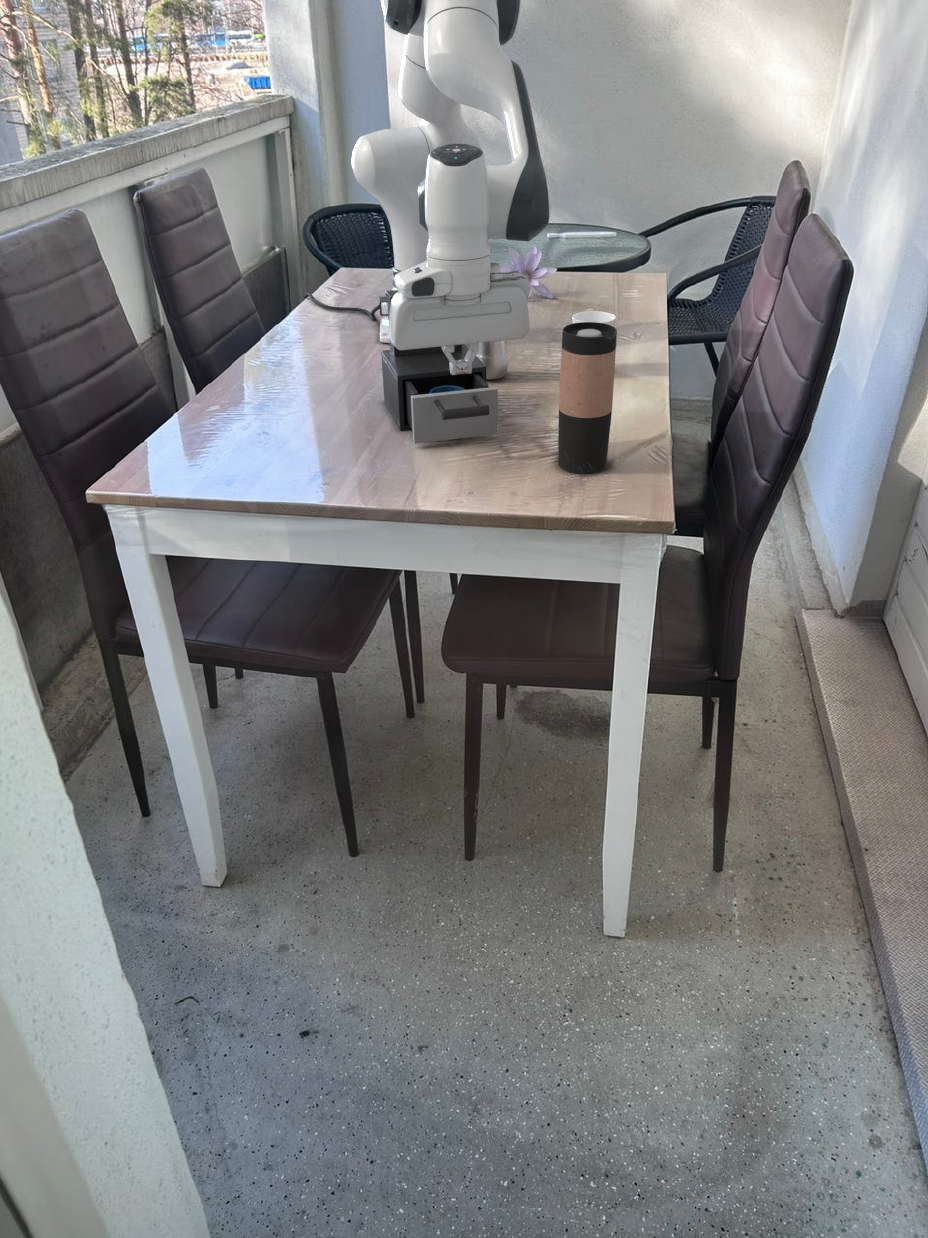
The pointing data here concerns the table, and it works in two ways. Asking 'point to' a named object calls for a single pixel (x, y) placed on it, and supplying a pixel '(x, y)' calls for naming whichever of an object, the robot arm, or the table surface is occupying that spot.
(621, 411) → the table surface
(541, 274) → the water lily
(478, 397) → the grey drawer
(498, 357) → the silver water bottle
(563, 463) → the travel mug
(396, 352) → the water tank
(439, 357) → the dark grey box
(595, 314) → the white cup
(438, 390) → the blue cup
